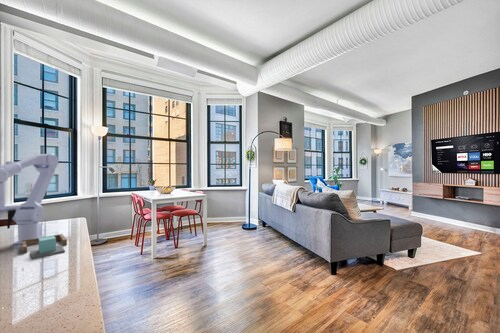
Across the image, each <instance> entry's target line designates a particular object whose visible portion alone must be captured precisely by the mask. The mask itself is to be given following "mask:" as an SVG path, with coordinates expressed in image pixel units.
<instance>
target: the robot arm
mask: <svg viewBox="0 0 500 333" xmlns="http://www.w3.org/2000/svg"><path fill="white" fill-rule="evenodd" d="M58 164H59V159H58V156H57V155H56V154H55V153H33V154H30V155H28V157H25V158H23V159H22V160H21V159H20V160H19V161H5V163H3V164H1V165H0V213H3V212H4V213H5V212H7V229H10V228H11V224H12V220H13V221H14V222H15V223H16V224H17V241H14V242H13V243H12V244H13V245H22V241H23V240H29V239H35V238H41V237H45V236H43V224H41V223H42V222H40V221H41V219H42V218H43V215H44V214H43V213H44V210H45V208H44V207H43V206H42V204H41V203H42V202H43V200H44V197H45V195H46V194H47V190H48V188H49V187H50V184H51V182H52V180H53V177H54V175H55V172H56V168H57V167H58ZM30 166H33V167H34V169H35V170H36V171H37V172H39V175H38V177H37V179H36V181H35V183H34V185H33V187H32V189H31V191H30V193H29V195H28V197H27V199H26V201H25V202H23V203H21V204H19V205H11V206H6V204H5V203H6V200H5V199H6V198H5V182H7V181H8V179H9V178H10V177H13V176H15V175H18V174H19V173H22V169H25V168H28V167H30Z"/></svg>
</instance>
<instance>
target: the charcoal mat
mask: <svg viewBox="0 0 500 333" xmlns="http://www.w3.org/2000/svg"><path fill="white" fill-rule="evenodd" d="M65 252H66V250H65V249H64V247H63V246H62V244H58V245H56V250H55V251H50V252H45V253H40V252H39V248H37V249H32V250H30V255H31V260H34V259H39V258H40V259H41V258H44V257H48V256H53V255H57V254H62V253H65Z"/></svg>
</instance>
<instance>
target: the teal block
mask: <svg viewBox="0 0 500 333" xmlns="http://www.w3.org/2000/svg"><path fill="white" fill-rule="evenodd" d="M50 236H51V237H47V236H44V237H45V238H39V244H38V249H39V252H40V253H45V252H50V251H55V250H56V246H57V241H56V238H55V236H53V235H50Z"/></svg>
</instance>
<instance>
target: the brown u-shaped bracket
mask: <svg viewBox="0 0 500 333" xmlns="http://www.w3.org/2000/svg"><path fill="white" fill-rule="evenodd" d="M51 236H55V238H56V240H57V241H60V243H61V245H63V246H67V245H68V239H67V238H66V237H65V236H64V235H63V234H62V233H59V234H54V235H47V236H44V237H41V238H45V237H51ZM33 245H34V246H35V245H39V238H35V239H29V240H23V241H22V244H21V248H22V254H27V253H28V247H29V246H33ZM63 246H62V247H63Z"/></svg>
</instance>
